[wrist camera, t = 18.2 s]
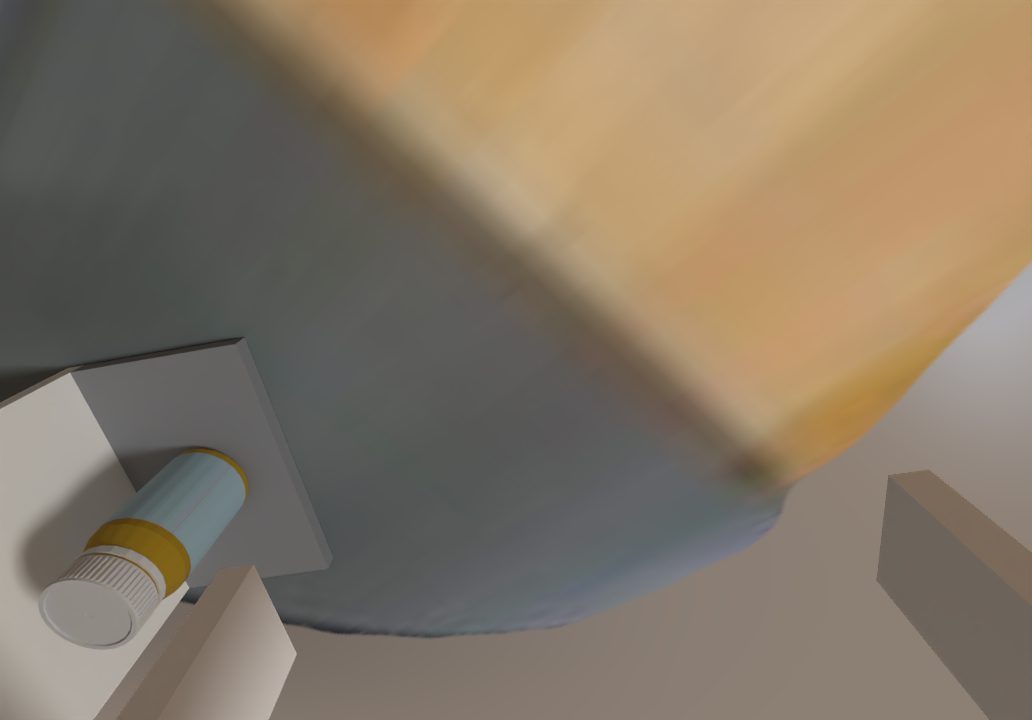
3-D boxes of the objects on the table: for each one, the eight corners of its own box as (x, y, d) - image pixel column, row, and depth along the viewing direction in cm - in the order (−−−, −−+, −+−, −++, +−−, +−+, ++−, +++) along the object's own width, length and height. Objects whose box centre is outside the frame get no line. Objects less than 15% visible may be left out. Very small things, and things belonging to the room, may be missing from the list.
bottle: (201, 430, 46) (64, 556, 32) (267, 479, 48) (165, 617, 34) (157, 476, 48) (10, 614, 34) (223, 522, 50) (109, 669, 36)
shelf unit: (183, 578, 54) (-162, 1034, 27) (67, 368, 45) (-642, 730, 18) (333, 557, 53) (133, 1011, 26) (244, 337, 44) (-216, 673, 16)
